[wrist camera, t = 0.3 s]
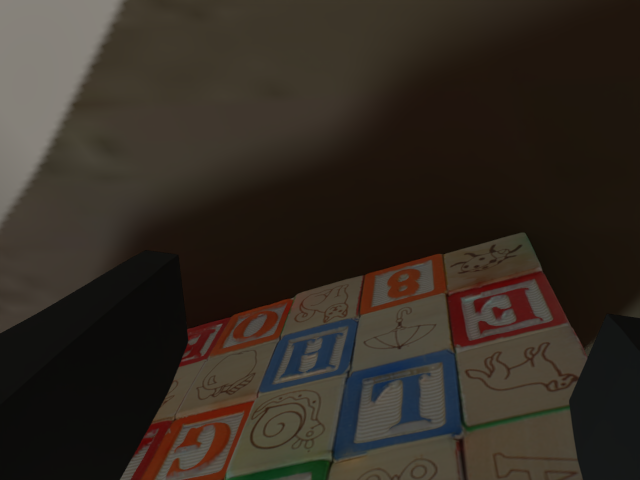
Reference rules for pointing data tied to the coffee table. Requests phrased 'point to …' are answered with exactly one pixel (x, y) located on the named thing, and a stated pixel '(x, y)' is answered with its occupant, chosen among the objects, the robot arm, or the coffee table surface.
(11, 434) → the robot arm
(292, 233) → the coffee table surface
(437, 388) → the stack of blocks
